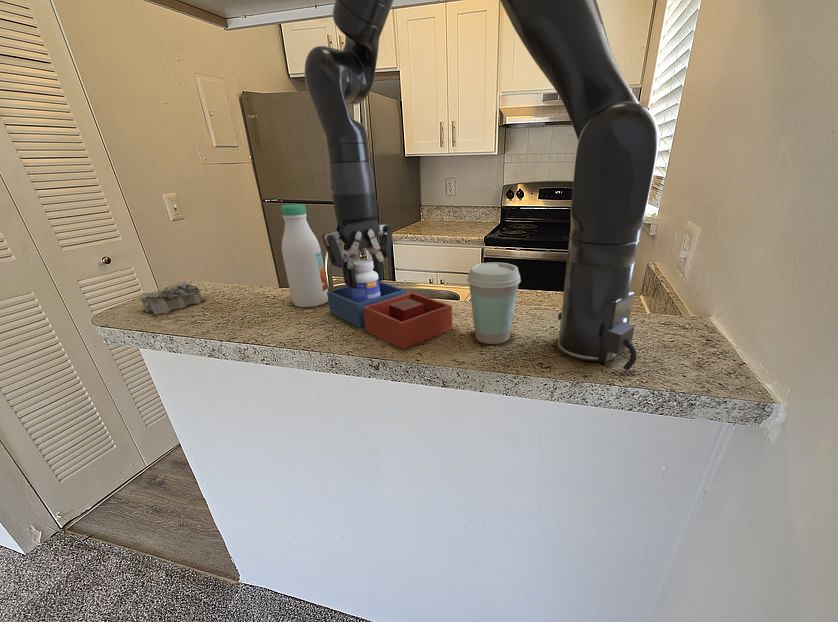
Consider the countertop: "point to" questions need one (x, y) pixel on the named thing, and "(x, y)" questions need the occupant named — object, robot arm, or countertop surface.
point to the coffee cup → (493, 300)
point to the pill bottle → (365, 281)
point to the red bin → (408, 321)
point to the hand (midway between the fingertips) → (365, 283)
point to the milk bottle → (302, 259)
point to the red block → (406, 309)
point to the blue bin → (353, 311)
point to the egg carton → (171, 298)
